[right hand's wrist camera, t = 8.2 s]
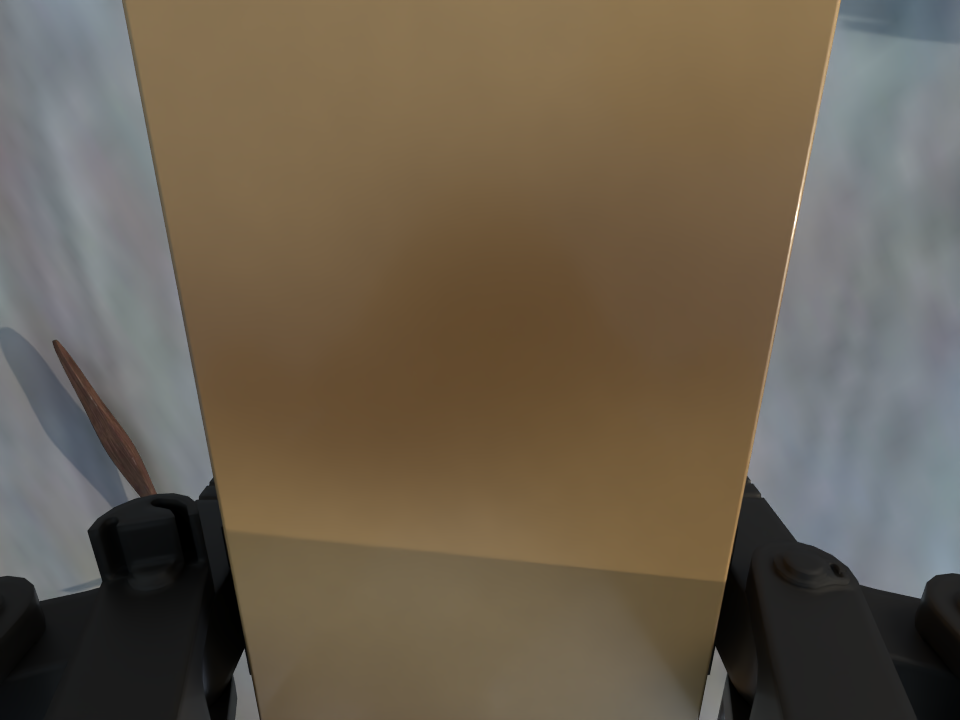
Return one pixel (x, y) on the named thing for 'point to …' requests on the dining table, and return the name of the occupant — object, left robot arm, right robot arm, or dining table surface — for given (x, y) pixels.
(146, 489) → the fork
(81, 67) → the dining table surface
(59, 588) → the dining table surface
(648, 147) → the bar
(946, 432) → the dining table surface
